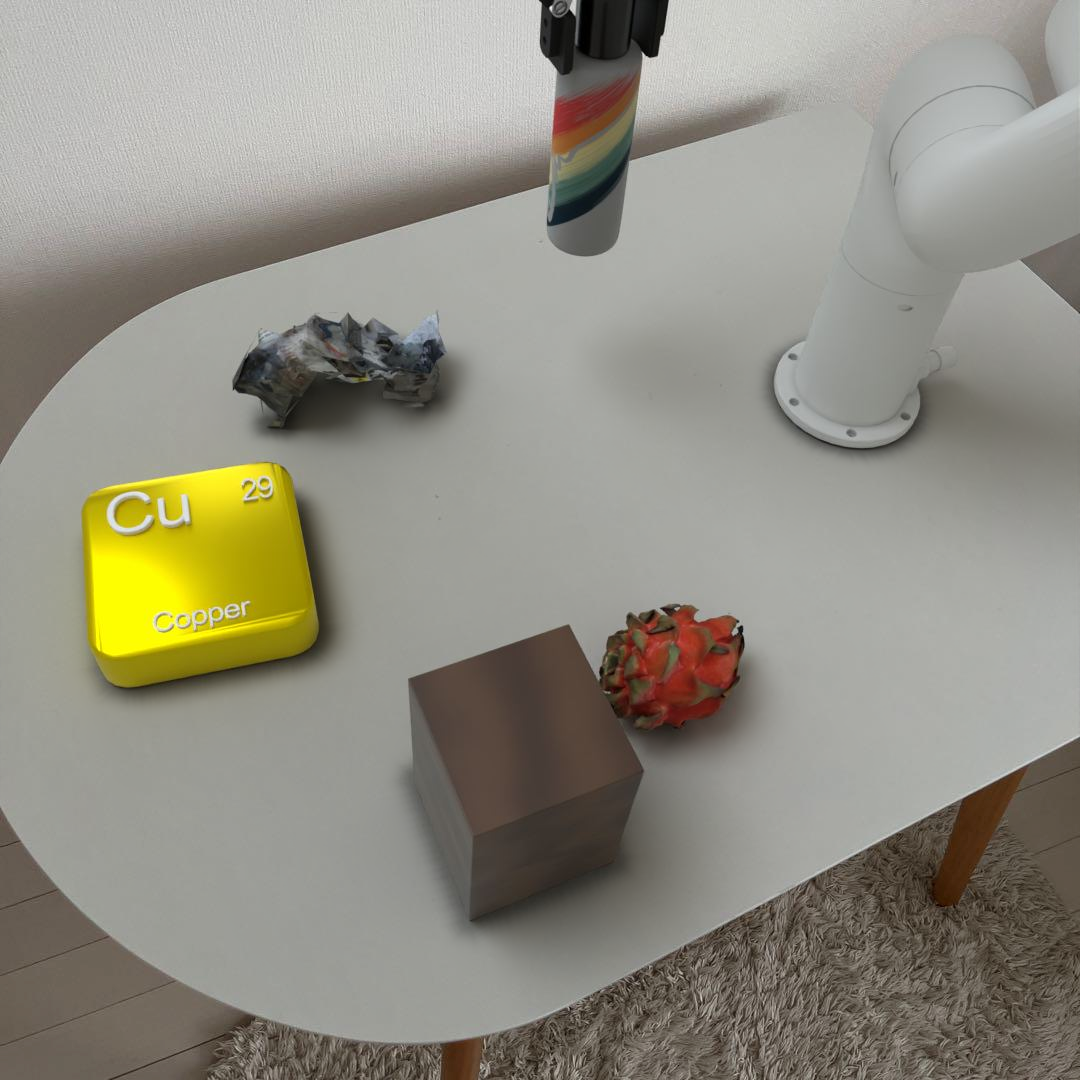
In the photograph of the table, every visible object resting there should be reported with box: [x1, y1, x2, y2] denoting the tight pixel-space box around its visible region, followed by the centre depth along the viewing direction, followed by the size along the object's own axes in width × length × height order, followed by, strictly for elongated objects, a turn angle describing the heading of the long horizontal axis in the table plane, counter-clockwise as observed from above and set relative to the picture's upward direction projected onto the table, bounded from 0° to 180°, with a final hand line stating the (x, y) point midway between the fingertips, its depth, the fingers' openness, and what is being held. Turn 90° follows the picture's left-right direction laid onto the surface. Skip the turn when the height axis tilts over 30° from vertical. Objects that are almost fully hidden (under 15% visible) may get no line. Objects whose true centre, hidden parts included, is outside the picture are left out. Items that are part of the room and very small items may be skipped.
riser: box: [407, 623, 645, 922], centre depth 67 cm, size 10×10×14 cm
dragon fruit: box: [598, 603, 746, 732], centre depth 76 cm, size 8×8×12 cm
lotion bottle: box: [546, 0, 644, 258], centre depth 78 cm, size 6×6×20 cm
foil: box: [231, 309, 448, 429], centre depth 92 cm, size 12×11×15 cm
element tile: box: [80, 461, 320, 689], centre depth 80 cm, size 15×15×5 cm
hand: (600, 52), depth 74 cm, fingers closed on lotion bottle, 5 cm apart
